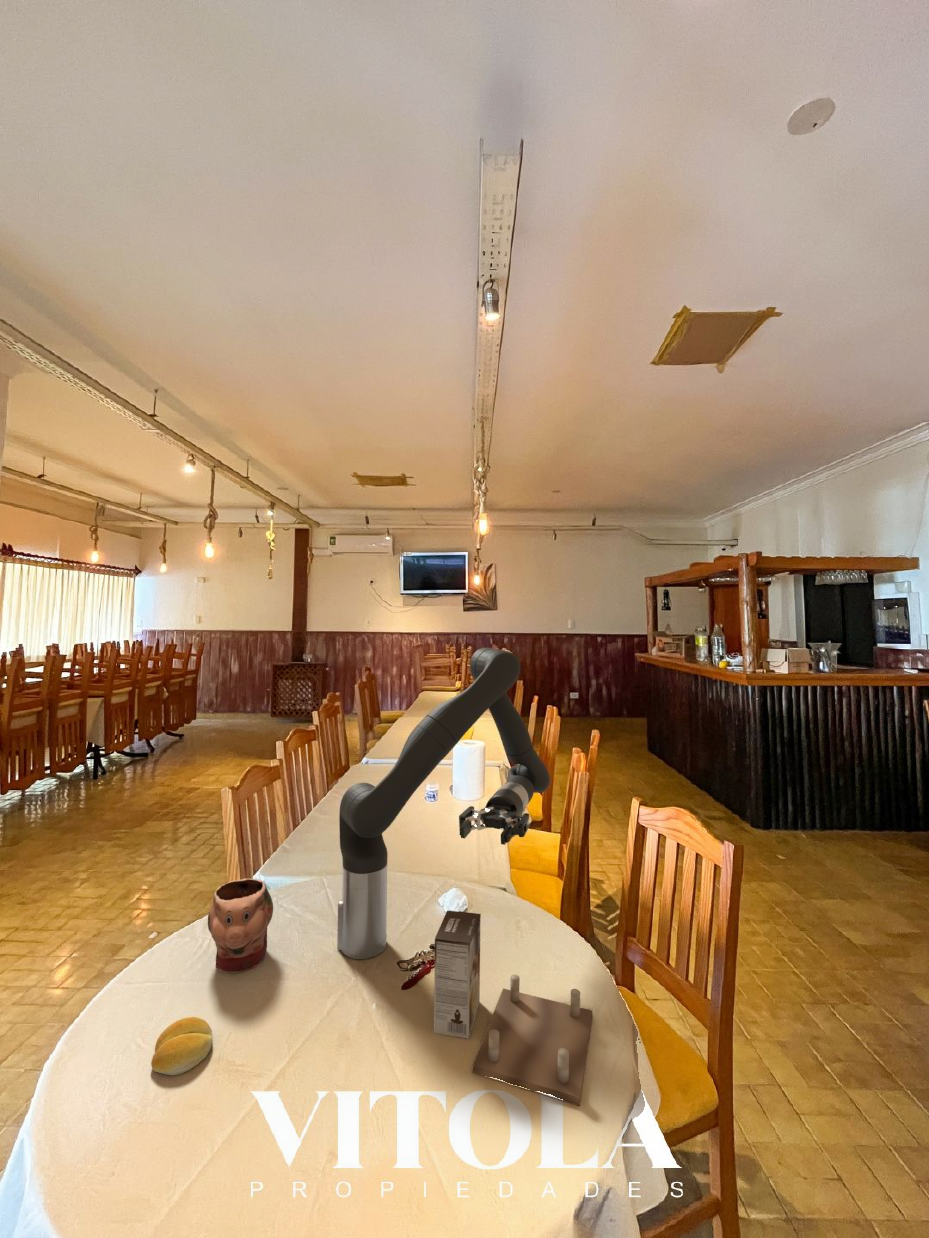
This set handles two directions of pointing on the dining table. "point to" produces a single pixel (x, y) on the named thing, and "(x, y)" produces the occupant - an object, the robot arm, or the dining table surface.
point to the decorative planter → (240, 924)
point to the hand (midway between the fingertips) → (482, 836)
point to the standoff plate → (537, 1043)
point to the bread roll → (182, 1046)
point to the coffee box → (457, 974)
